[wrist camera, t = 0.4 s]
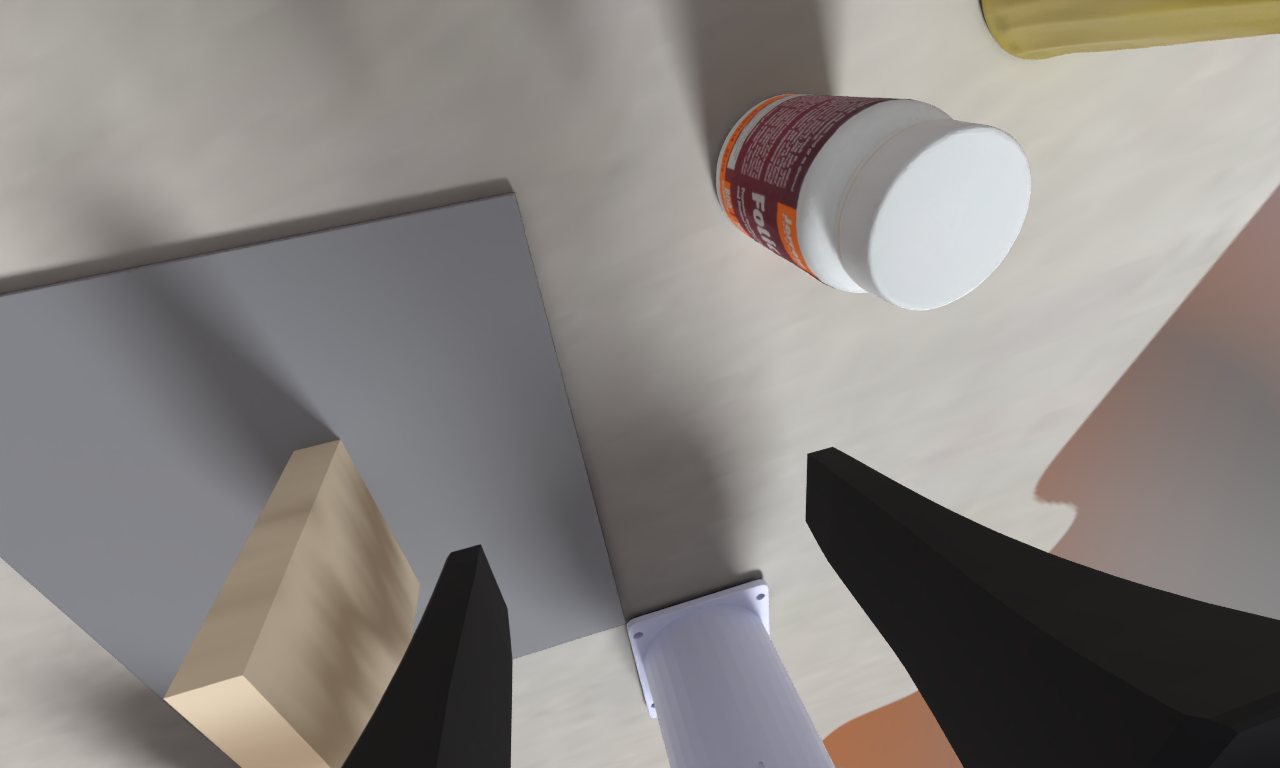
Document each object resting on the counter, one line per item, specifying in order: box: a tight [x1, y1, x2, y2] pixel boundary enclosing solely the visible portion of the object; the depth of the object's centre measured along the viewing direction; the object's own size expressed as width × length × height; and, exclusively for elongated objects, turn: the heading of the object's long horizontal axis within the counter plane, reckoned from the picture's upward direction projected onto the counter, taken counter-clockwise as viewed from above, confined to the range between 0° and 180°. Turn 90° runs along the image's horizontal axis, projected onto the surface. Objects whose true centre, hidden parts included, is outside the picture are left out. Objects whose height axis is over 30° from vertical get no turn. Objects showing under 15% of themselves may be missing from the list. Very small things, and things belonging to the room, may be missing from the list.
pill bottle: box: [716, 94, 1031, 310], centre depth 15 cm, size 5×5×8 cm
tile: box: [163, 440, 420, 768], centre depth 17 cm, size 8×2×9 cm, turn 9°
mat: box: [0, 192, 626, 751], centre depth 21 cm, size 22×20×1 cm
